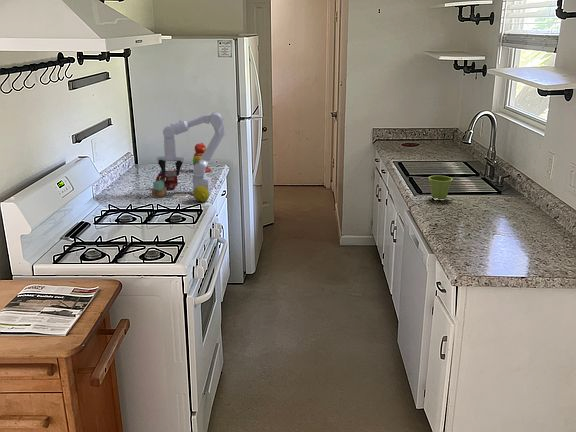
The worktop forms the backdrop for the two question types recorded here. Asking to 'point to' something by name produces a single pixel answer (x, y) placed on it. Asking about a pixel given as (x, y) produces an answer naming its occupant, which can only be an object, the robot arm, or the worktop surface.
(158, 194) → the walnut block
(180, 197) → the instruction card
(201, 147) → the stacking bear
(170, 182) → the toy fire truck
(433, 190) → the plant pot
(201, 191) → the lemon
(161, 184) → the teal block
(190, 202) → the worktop surface
